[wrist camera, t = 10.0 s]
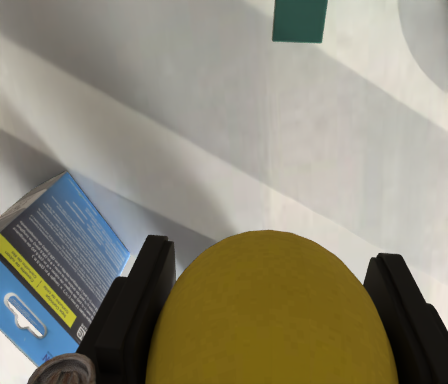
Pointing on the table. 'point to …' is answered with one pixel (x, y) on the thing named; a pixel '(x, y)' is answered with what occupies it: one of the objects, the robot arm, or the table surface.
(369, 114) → the table surface
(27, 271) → the label tape box
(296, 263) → the lemon
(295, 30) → the pot
